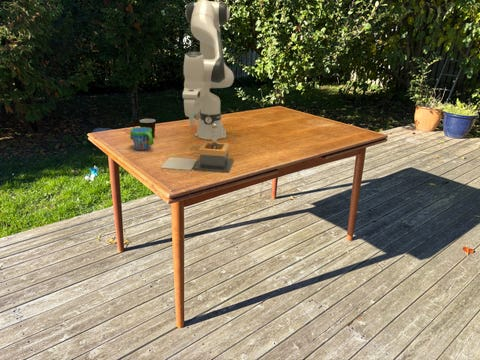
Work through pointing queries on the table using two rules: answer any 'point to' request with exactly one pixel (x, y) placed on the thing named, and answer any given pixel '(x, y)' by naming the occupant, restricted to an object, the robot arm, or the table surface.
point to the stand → (214, 158)
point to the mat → (179, 164)
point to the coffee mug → (148, 125)
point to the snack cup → (142, 138)
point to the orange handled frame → (215, 152)
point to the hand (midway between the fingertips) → (194, 122)
